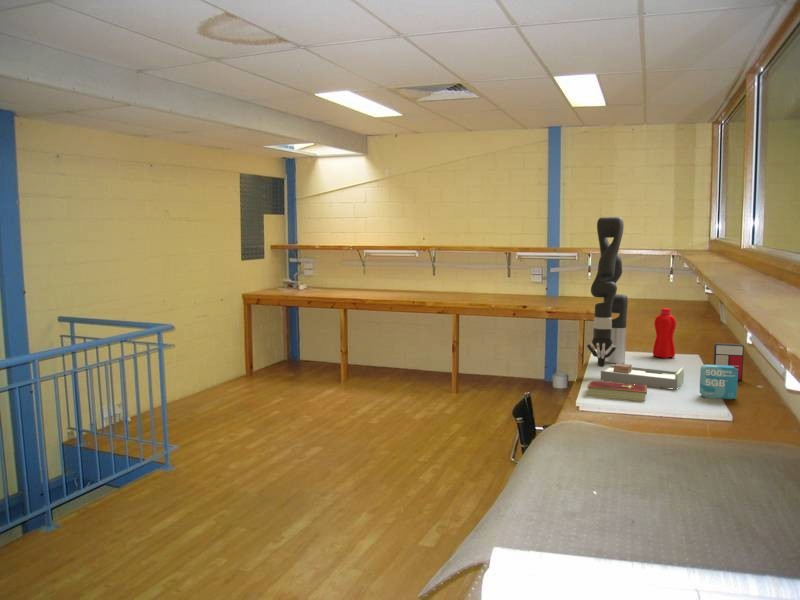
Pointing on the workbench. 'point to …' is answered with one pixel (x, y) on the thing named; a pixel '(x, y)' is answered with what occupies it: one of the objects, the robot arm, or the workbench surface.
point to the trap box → (645, 377)
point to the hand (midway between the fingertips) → (601, 366)
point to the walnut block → (622, 368)
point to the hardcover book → (617, 390)
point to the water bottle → (664, 334)
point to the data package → (718, 381)
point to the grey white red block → (729, 356)
